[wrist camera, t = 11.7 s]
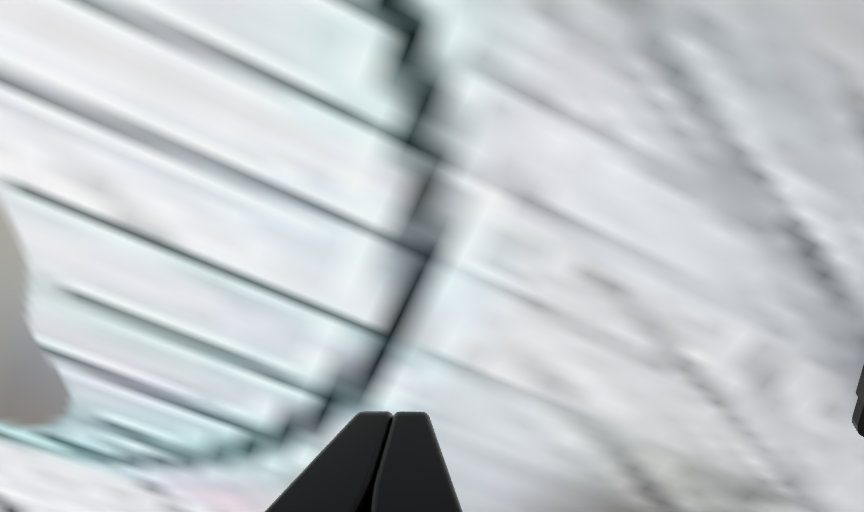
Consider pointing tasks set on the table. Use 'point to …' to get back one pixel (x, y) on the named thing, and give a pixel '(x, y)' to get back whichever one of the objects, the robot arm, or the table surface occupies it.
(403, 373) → the table surface
